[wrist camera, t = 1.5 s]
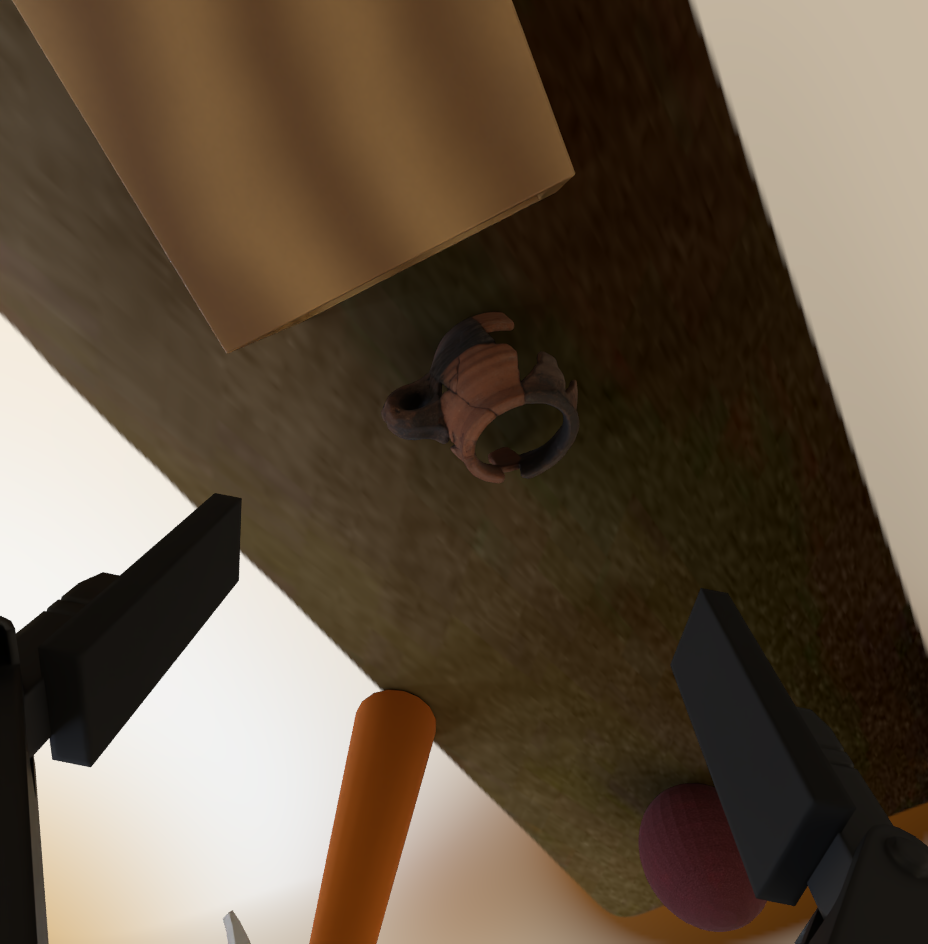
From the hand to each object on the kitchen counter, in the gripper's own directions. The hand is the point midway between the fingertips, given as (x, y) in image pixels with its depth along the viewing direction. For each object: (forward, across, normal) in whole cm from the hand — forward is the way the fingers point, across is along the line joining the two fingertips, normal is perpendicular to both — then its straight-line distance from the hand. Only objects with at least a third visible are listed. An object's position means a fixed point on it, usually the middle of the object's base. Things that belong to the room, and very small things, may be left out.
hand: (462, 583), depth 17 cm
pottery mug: (+25, 0, -1) cm, 25 cm away
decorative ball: (+25, +24, -33) cm, 48 cm away
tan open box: (+24, -10, +13) cm, 30 cm away
